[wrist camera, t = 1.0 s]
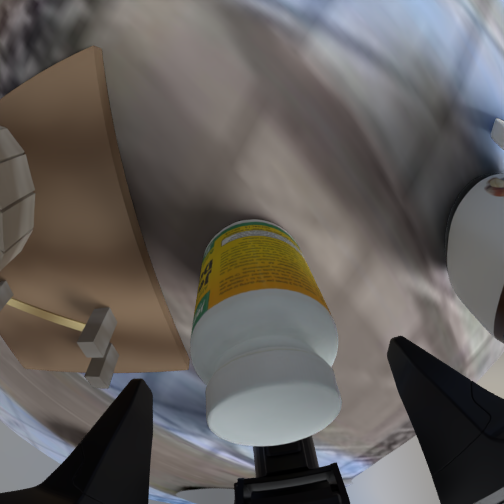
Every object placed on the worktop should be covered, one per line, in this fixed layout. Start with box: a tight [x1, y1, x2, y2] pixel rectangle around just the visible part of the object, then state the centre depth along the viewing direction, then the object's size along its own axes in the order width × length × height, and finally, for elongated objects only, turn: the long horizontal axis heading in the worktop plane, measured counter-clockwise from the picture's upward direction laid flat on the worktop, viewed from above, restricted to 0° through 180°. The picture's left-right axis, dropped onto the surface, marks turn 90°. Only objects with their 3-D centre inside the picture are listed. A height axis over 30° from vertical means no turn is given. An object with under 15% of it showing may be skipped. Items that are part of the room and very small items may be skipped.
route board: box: [0, 46, 190, 389], centre depth 12 cm, size 20×17×4 cm
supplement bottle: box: [190, 219, 342, 446], centre depth 11 cm, size 5×5×10 cm
